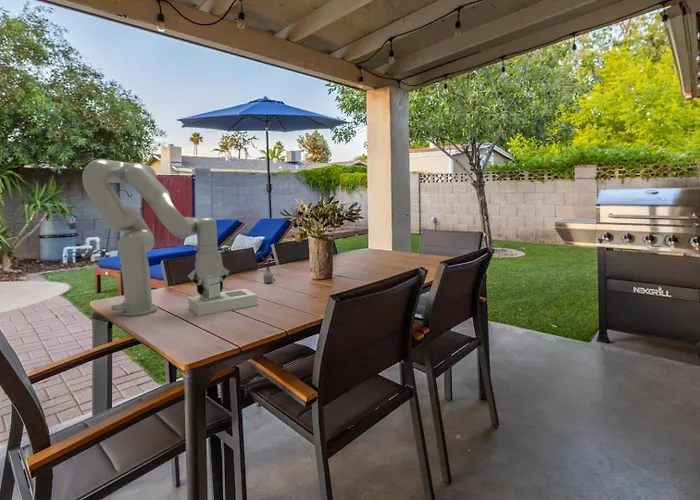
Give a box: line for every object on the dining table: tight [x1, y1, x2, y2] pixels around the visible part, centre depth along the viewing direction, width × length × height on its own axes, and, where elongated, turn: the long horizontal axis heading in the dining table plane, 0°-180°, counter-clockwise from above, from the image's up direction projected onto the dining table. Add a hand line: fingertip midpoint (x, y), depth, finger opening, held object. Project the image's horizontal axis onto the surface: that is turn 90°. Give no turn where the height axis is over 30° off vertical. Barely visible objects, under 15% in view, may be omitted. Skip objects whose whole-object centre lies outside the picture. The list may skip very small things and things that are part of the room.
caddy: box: [187, 288, 258, 317], centre depth 170 cm, size 24×13×5 cm, turn 126°
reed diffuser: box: [259, 243, 276, 283], centre depth 211 cm, size 10×7×20 cm
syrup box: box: [201, 275, 221, 302], centre depth 166 cm, size 6×6×14 cm
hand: (210, 292), depth 166 cm, fingers closed on syrup box, 7 cm apart
